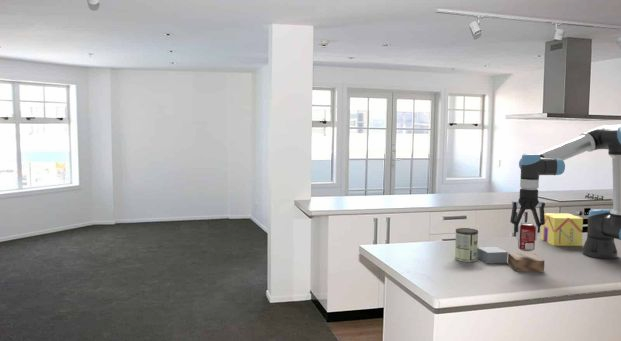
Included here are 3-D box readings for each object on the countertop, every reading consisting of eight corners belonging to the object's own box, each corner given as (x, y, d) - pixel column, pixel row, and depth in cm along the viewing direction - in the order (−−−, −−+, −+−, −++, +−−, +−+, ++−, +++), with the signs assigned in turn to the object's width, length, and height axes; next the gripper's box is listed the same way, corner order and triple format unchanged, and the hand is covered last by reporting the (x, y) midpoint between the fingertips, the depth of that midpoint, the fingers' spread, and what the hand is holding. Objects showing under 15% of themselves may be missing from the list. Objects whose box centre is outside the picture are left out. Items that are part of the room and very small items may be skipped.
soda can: (535, 252, 217) (537, 225, 216) (519, 251, 218) (520, 224, 217) (532, 248, 223) (533, 222, 222) (516, 247, 225) (517, 221, 224)
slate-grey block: (496, 256, 239) (496, 246, 239) (507, 262, 230) (507, 252, 229) (476, 257, 238) (477, 247, 238) (487, 263, 228) (487, 252, 228)
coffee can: (456, 255, 242) (457, 227, 241) (478, 257, 238) (479, 229, 237) (453, 260, 233) (454, 231, 232) (475, 263, 228) (476, 233, 227)
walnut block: (534, 264, 227) (535, 253, 226) (543, 272, 215) (544, 260, 214) (507, 263, 228) (508, 252, 228) (515, 270, 216) (515, 259, 216)
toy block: (581, 245, 264) (583, 218, 263) (553, 245, 264) (554, 218, 263) (567, 239, 279) (568, 213, 278) (540, 239, 279) (542, 213, 278)
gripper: (549, 188, 221) (546, 238, 223) (503, 187, 223) (501, 236, 225) (555, 190, 214) (552, 242, 215) (508, 189, 216) (505, 240, 218)
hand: (526, 239), depth 220 cm, fingers closed on soda can, 7 cm apart
